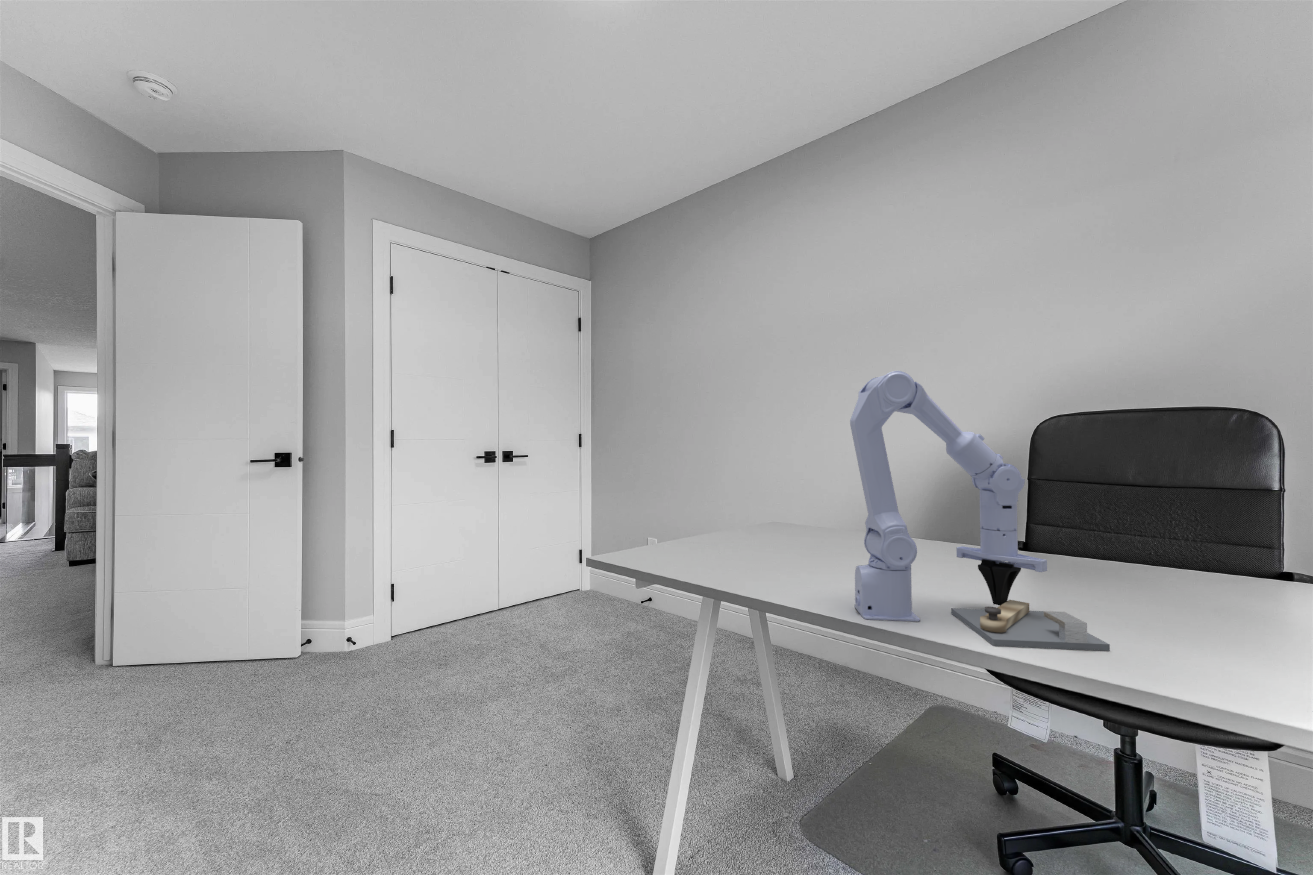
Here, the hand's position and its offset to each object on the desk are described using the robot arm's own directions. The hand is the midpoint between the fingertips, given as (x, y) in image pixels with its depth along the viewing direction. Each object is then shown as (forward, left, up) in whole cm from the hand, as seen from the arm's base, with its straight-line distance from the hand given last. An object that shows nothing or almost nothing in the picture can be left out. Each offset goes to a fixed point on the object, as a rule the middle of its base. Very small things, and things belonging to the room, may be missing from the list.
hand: (999, 604), depth 96 cm
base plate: (0, -8, -2) cm, 8 cm away
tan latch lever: (-2, -7, -1) cm, 7 cm away
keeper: (+3, -13, -1) cm, 14 cm away
